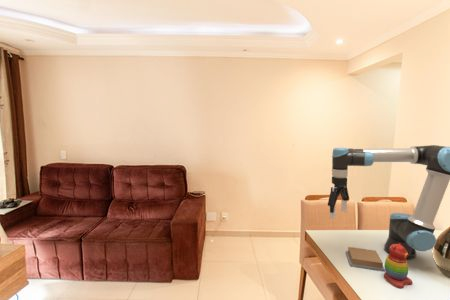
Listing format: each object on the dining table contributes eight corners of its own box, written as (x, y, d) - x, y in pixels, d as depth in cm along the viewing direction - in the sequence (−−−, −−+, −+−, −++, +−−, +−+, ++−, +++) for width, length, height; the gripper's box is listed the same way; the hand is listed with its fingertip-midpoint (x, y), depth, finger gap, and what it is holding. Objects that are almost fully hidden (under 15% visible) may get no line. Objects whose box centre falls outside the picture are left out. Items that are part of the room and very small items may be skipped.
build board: (377, 257, 138) (377, 250, 138) (384, 271, 125) (385, 264, 124) (345, 252, 143) (346, 246, 142) (350, 266, 130) (350, 258, 129)
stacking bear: (399, 289, 112) (402, 252, 110) (378, 276, 121) (380, 242, 119) (414, 283, 116) (417, 247, 114) (392, 271, 125) (395, 238, 123)
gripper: (342, 172, 142) (341, 207, 145) (321, 179, 126) (320, 219, 128) (356, 174, 137) (355, 210, 139) (335, 181, 120) (334, 223, 123)
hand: (338, 214), depth 134 cm, fingers open, 13 cm apart
